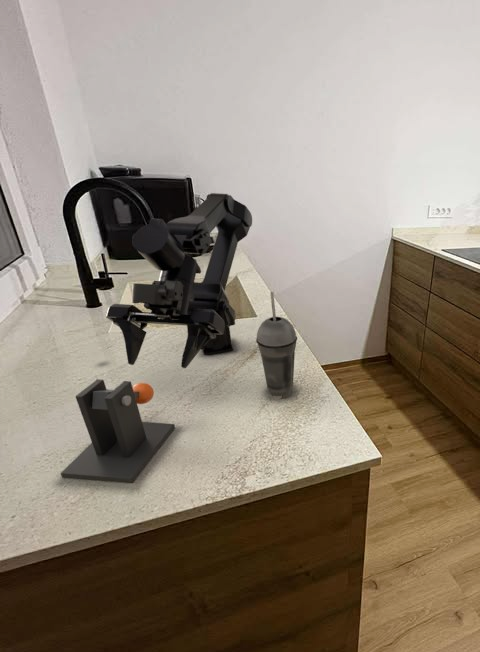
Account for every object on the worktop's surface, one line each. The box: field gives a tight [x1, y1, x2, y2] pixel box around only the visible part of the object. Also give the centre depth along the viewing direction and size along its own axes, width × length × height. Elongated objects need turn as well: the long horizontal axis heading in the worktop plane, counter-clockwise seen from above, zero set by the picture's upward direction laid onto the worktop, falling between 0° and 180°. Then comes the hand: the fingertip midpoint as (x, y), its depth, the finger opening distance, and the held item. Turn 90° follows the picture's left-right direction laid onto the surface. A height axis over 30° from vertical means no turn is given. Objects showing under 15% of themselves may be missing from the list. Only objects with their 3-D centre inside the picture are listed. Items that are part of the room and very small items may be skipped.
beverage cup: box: [255, 291, 298, 400], centre depth 70 cm, size 7×7×20 cm
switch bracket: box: [60, 378, 176, 484], centre depth 56 cm, size 12×10×12 cm
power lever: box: [92, 382, 155, 410], centre depth 58 cm, size 11×3×3 cm, turn 176°
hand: (157, 366), depth 66 cm, fingers open, 9 cm apart
